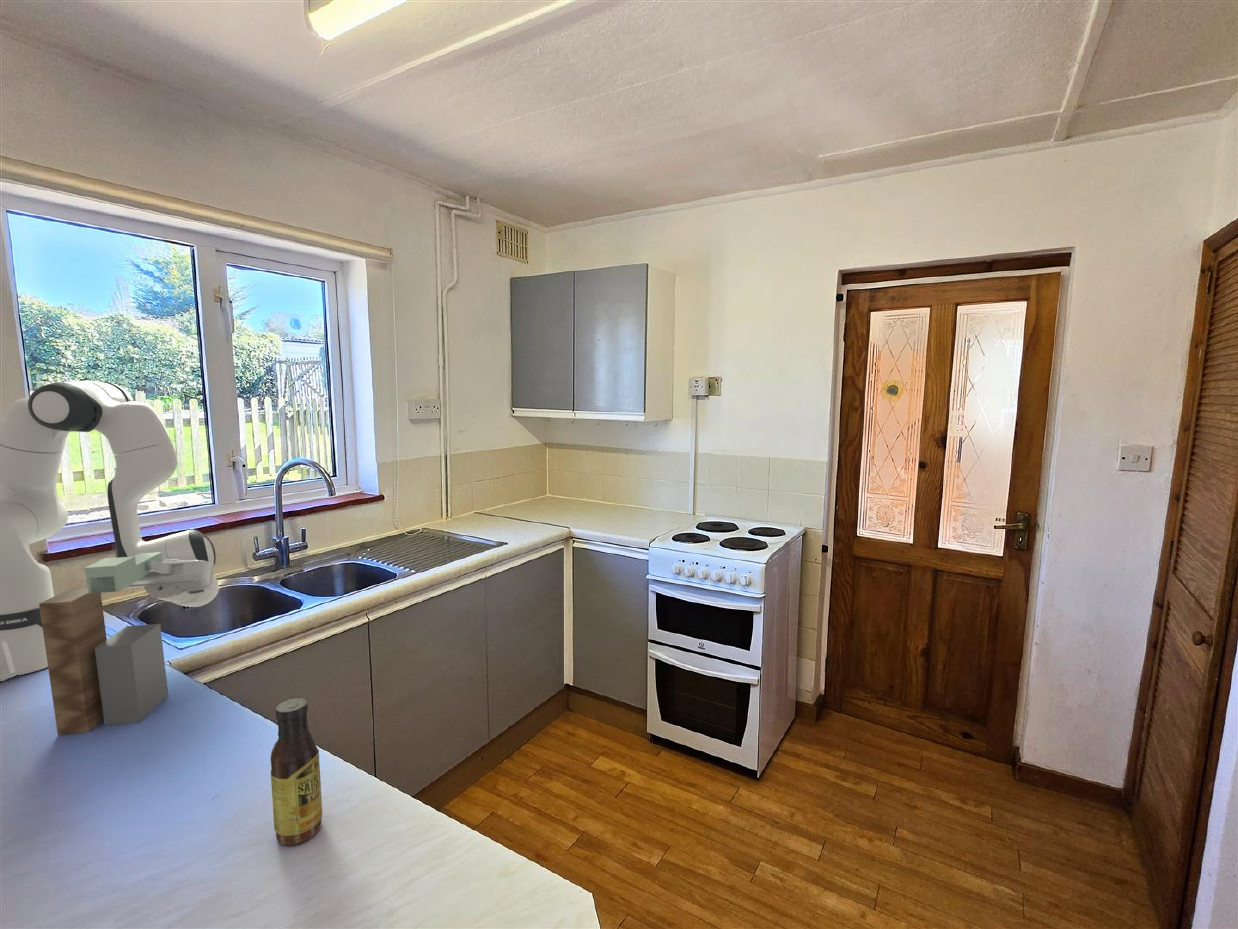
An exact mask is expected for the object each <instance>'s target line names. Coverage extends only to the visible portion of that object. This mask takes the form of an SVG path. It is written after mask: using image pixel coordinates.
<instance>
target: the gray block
mask: <svg viewBox="0 0 1238 929" xmlns="http://www.w3.org/2000/svg"><path fill="white" fill-rule="evenodd" d="M161 628H162V627H161V623H154V624H153V623H152V624H138V625H127V626H125V627H124V628H122V629H121V630H119V631H118V632H116V633H114V634H113V635H112V636H110V637H109V638H108V637H107V640H105V641H104V642H102V643H101V644H99V645H98V646H96V647H95V654H96V662H97V669H98V677H99V685H100V692H101V700H102V707H103V715H104V720H103V721H104V726H113V725H120V724H121V725H122V724H131V723H141V722H142V721H143V720H144V719H145V718H146V717H147V716H148V715H149V714H150V713H151V712H152V711H154V710H155V708H157V707H158V705H160V704H161V703H162V702H163V701H164V700H165V699H166V698H167V697H168V696H169V690H168V681H167V673H166V665H165V654H164V647H163V636H162V629H161ZM163 699H164V700H163ZM162 700H163V701H162Z"/></svg>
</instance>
